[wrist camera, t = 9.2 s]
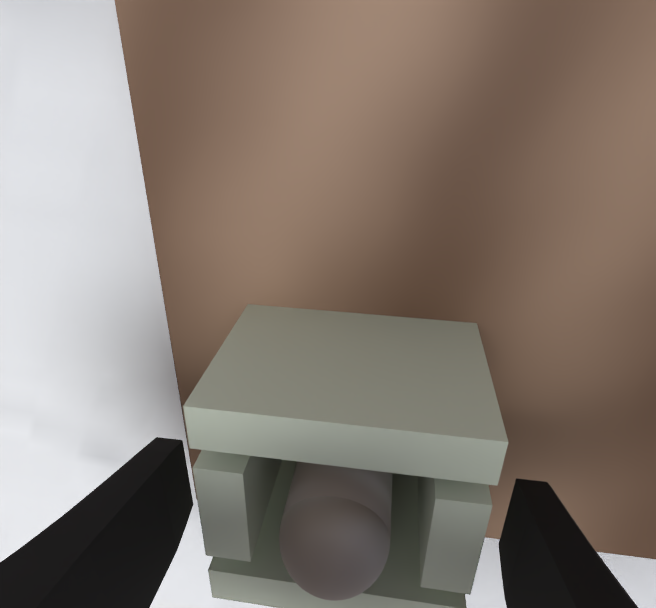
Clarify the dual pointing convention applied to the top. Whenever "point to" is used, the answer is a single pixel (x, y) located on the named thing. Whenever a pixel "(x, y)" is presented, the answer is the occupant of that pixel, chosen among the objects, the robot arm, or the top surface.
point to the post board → (420, 223)
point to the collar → (347, 446)
